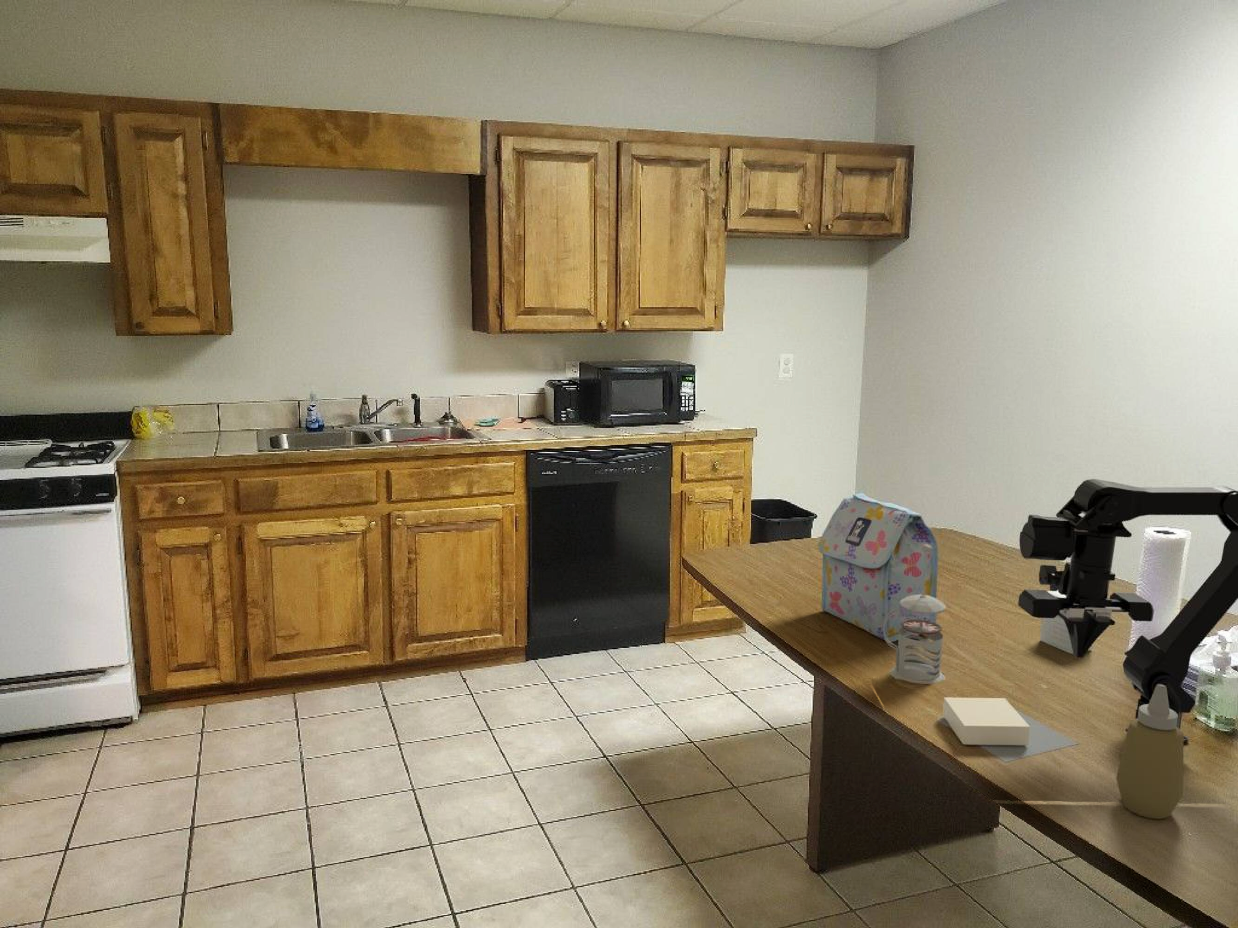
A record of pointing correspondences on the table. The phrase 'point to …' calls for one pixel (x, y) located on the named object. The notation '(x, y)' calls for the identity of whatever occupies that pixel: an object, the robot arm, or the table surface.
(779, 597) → the table surface
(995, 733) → the tile
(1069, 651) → the small box
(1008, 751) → the mat
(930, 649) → the french press
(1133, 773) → the squeeze bottle
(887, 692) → the table surface
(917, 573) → the lunch bag
